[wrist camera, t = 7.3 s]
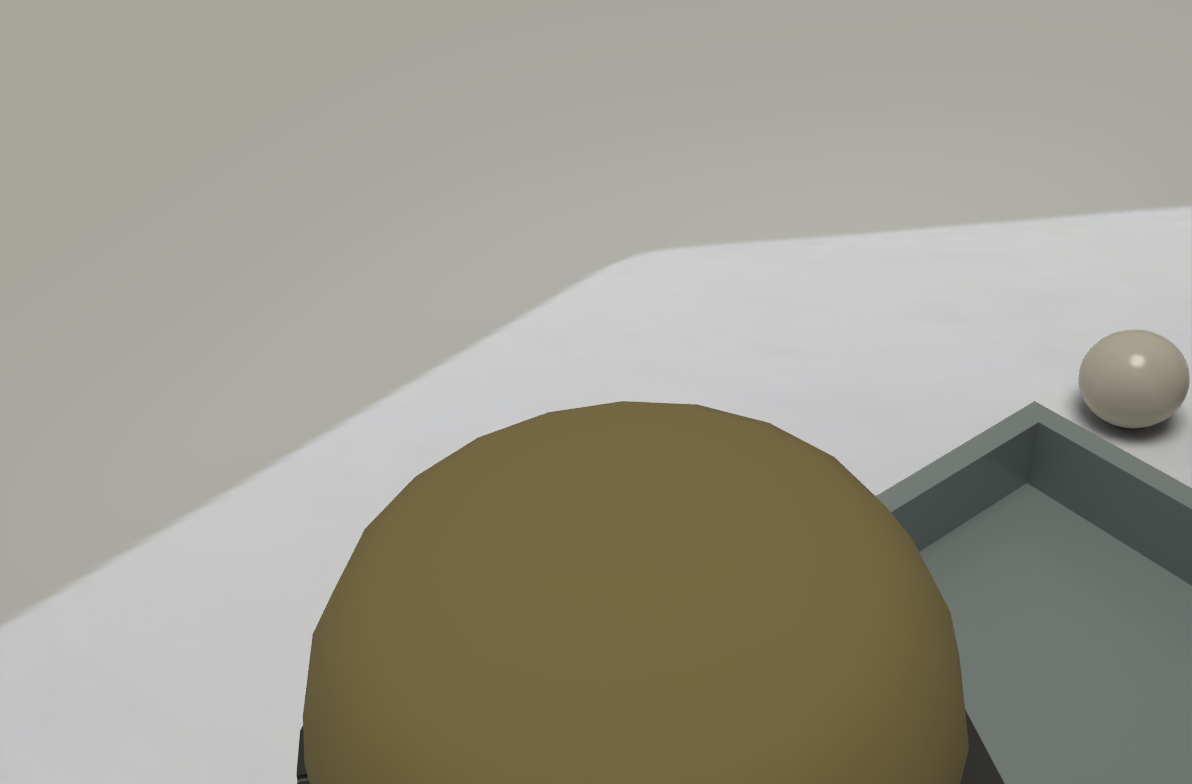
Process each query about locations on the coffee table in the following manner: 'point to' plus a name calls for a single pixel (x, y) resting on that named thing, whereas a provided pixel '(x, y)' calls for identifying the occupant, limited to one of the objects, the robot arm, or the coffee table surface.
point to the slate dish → (1063, 599)
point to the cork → (635, 617)
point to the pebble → (1134, 378)
